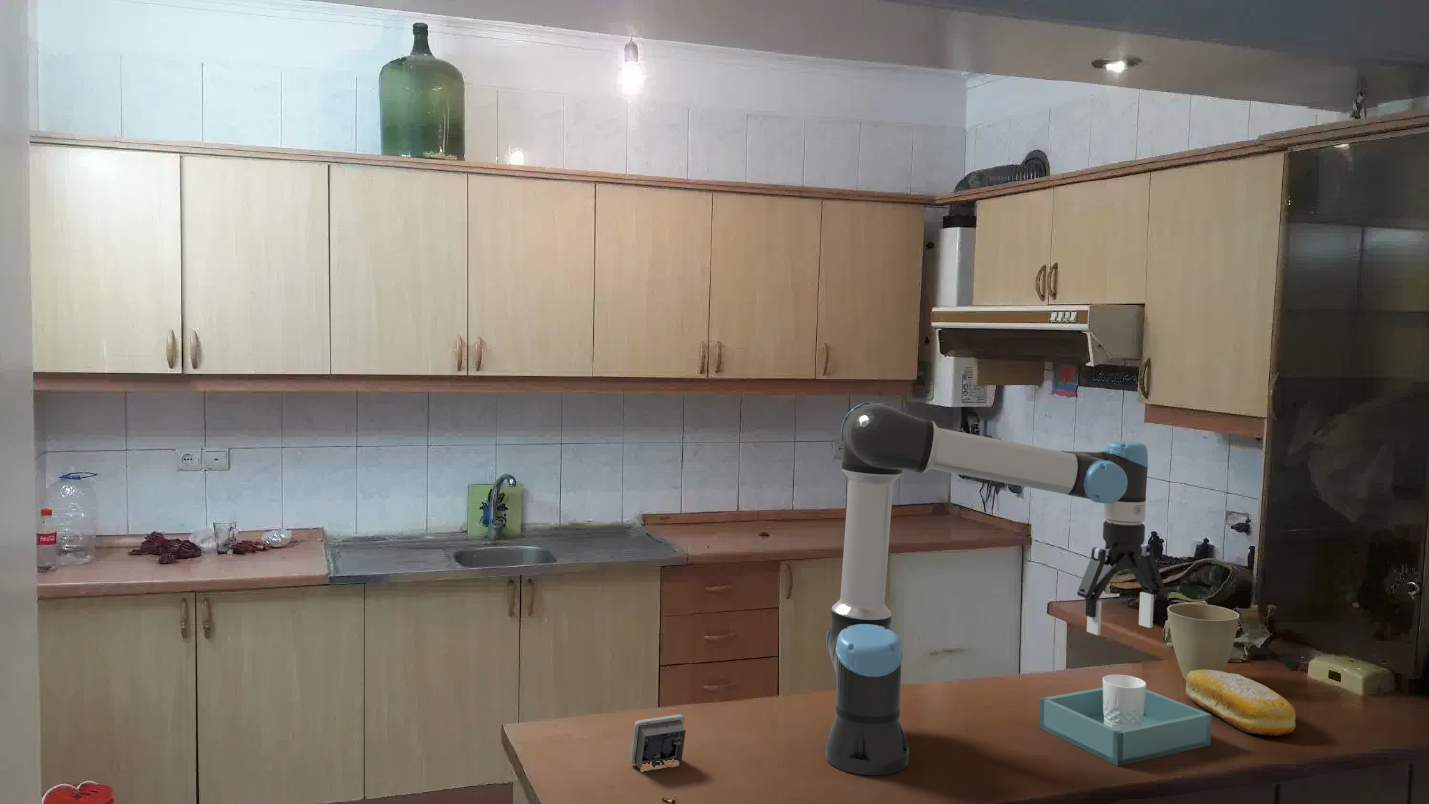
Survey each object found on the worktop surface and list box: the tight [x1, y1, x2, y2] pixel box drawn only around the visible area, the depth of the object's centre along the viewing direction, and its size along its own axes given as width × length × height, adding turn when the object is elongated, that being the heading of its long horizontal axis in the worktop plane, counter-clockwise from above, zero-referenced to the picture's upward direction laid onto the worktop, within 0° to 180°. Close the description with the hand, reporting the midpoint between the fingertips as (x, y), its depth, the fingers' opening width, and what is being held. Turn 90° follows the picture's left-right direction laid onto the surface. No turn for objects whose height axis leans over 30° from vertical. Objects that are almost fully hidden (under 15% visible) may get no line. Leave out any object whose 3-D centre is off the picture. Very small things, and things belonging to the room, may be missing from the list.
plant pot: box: [1166, 602, 1240, 681], centre depth 234 cm, size 15×15×16 cm
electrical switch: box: [629, 713, 686, 769], centre depth 183 cm, size 9×5×9 cm, turn 113°
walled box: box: [1038, 686, 1212, 767], centre depth 200 cm, size 24×20×6 cm
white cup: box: [1102, 674, 1147, 730], centre depth 200 cm, size 8×8×10 cm
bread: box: [1185, 669, 1297, 737], centre depth 211 cm, size 13×26×8 cm, turn 9°
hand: (1119, 629), depth 199 cm, fingers open, 13 cm apart
